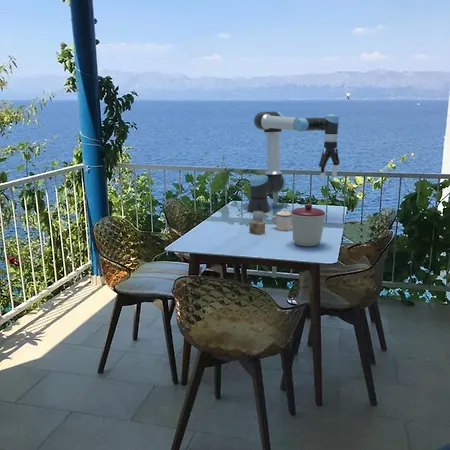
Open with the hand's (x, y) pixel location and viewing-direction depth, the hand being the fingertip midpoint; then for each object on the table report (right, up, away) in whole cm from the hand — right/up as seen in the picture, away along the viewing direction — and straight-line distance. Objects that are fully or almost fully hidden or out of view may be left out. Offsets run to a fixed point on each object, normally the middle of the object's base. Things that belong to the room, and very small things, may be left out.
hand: (328, 177), depth 284 cm
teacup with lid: (-30, -31, -13) cm, 45 cm away
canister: (-21, -39, -43) cm, 62 cm away
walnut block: (-45, -34, -23) cm, 60 cm away
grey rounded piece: (-43, -29, -5) cm, 52 cm away
